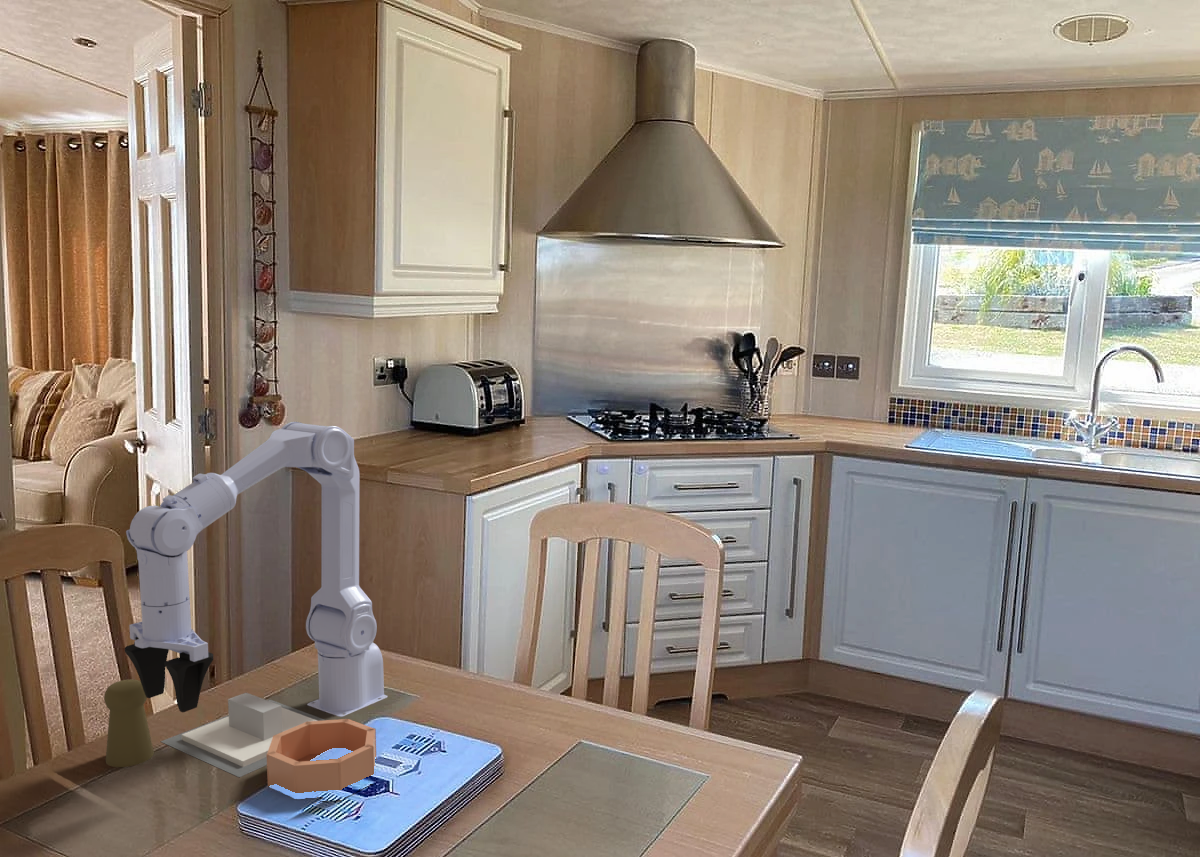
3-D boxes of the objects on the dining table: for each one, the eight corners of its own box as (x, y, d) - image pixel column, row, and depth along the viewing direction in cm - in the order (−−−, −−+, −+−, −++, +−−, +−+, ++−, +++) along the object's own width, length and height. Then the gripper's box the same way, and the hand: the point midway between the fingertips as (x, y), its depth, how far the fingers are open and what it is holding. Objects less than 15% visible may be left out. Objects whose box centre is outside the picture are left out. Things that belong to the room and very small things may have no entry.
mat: (269, 703, 153) (269, 699, 153) (348, 732, 143) (348, 728, 143) (160, 745, 139) (160, 741, 139) (239, 781, 128) (239, 777, 128)
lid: (266, 706, 150) (265, 676, 150) (328, 729, 142) (326, 697, 142) (181, 739, 139) (180, 707, 139) (243, 767, 131) (241, 732, 131)
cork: (135, 773, 131) (130, 693, 129) (94, 769, 132) (89, 689, 130) (164, 753, 136) (159, 676, 135) (125, 749, 138) (120, 672, 136)
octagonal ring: (330, 746, 139) (329, 711, 138) (396, 771, 131) (395, 735, 130) (249, 783, 128) (247, 746, 127) (316, 813, 120) (314, 774, 120)
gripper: (104, 597, 128) (111, 699, 129) (168, 618, 119) (174, 726, 121) (156, 585, 133) (161, 682, 135) (220, 604, 125) (225, 707, 127)
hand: (171, 702), depth 128 cm, fingers open, 7 cm apart
